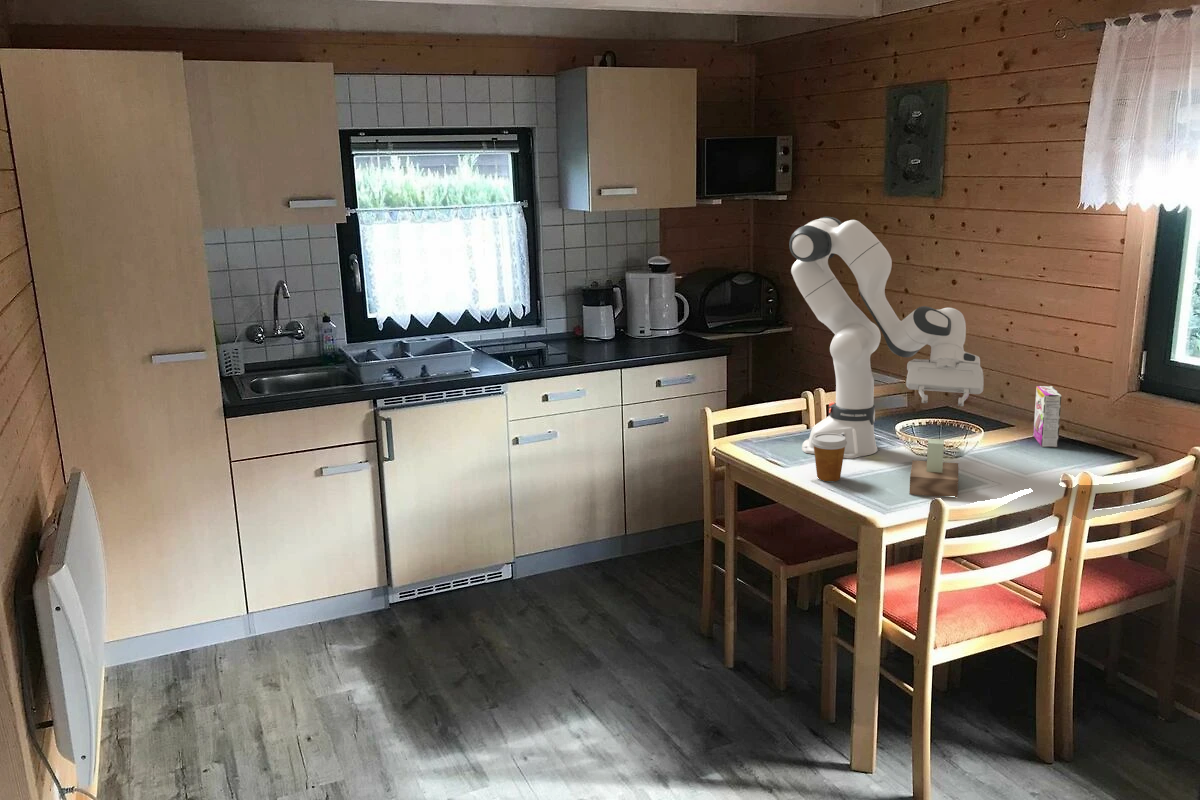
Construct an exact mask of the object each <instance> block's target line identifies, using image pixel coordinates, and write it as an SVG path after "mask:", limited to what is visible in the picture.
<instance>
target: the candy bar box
mask: <svg viewBox="0 0 1200 800" xmlns="http://www.w3.org/2000/svg"><path fill="white" fill-rule="evenodd" d="M1061 405H1062V394H1061V393H1060V392H1059V391H1058V390H1056V389H1055V387H1054V386H1052V385H1050V386H1049V385H1048V386H1047V385H1043V386H1042V385H1039V386H1037V385H1036V388H1035V406H1034V420H1033V433H1032V436H1033V438H1034V439H1035V441H1037V443H1038V444H1039V445H1040V447H1042V448H1058V446H1059V433H1060V422H1061V421H1060V419H1061Z"/></svg>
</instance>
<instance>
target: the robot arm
mask: <svg viewBox="0 0 1200 800" xmlns="http://www.w3.org/2000/svg"><path fill="white" fill-rule="evenodd" d="M788 243H789V244H788V245H789V247H788V248H789V251H790V254H791V255H792V256H793V257H794V258H795V259H796V261H794V263H793V264H792V265H791V269H790V273H791V275H792V278H793V281H794V282H795V285H796V287H797V289H798V291H799V292H800V294H801V295H802V297H803V299H804V301H805V302H806V303H807V305H808V306H809V308H810V309H811V311H812V312H813V314H814V315H815V317H816V319H817V320H818V321H819V322H821V323H822V324H824V326H826V327H827V328H828V329H829V330H830V331H831V332H832V333H833V334H834V336H833V337H832V340H831V342H830V346H829V352H830V353H829V354H830V355H831V357H832V362H833V368H834V374H835V385H836V386H835V402H834V401H830V403H829V405H828V416H827V417H824V418H823V419H822V420H820V421H819V422H817V423H816V424H815V425H814V426H813V427H812V428H811V431H810V434H809V438H807V439H804V441H803V442H802V445H801V450H802V452H803V453H806V454H811V455H815V453H814V446H813V443H812V440H813V438H814V436H815V435H817V434H822V433H834V434H840V435H843V436H844V437H845V439H846V441H847V444H846V446H845V451H844V457H843V459H857V458H859V457H864V456H871V455H873V454H875V453H877V452H878V446H877V443H876V438H875V437H876V436H875V425H874V424H875V420H876V419H875V418H876V408H875V404H874V394H875V391H874V389H875V385H874V384H875V379H874V377H873V374H872V373H873V372H872V367H871V366H872V365H871V356H872V354H873V353H874V352H876V351H877V349H878V348H879V345H880V343H881V339H882V338H881V337H882V335H881V334H883V338H884V340H885V344H886V345H887V347H888V349H889V350H890V351H891V353H893V354H894V355H897V356H899V357H902V358H911V357H913V356H914V355H916V354H917V353H918V352H919V351H920V350H922V348H924V347H925V346H926V345H928V346H930V348H931V349H930V355H929V357H930V358H929V359H928V358H927V359H920V358H913V359H912V360H909V361H908V362H907V364H906V371H907V374H906V381H905V386H906V387H907V389H908V390H914V391H915V390H917V391H918V394H919V396H920V397H921V403H922V404H928V398H929V397H928V396H929V395H928V394H925V391H927V392H928V391H929V392H930V391H931V392H944V393H955V394H956V393H960V394H963V395H962V396H961V397H958V401H957V406H958V407H959V406H960V407H964V404H965V401H966V400H967V399H968V398H969V396H970V395H971V394H972V395H973V394H974V395H980V394H981V393H983V391H984V383H985V382H984V370H983V368H982V366H981V358H980V356H978V355H976V354H974V353H970V352H967V351H965V350H964V349H965V348H964V345H965V343H966V338H967V337H966V336H967V328H966V327H967V323H966V319H965V316H964V314H963V312H961V311H960V310H958V309H956V308H954V307H944V308H941V309H935V308H933V307H930V306H928V305H927V306H926V305H923V306H919V307H917V308H916V309H914V310H912V312H910V313H909V314H908V315H907V316H906V317H904V318H903V319H902V320H900V318H899V317H898V316H897V314H896V313H895V311H894V309H893V307H892V305H890V303H889V301H888V299H887V297H886V293H885V291H886V290H885V289H886V285H887V281H888V279H889V276H890V274H891V271H892V263H893V261H892V257H891V255H890V253H889V251H888V250H887V248H886V247H885V246H884V245H883V243H882V242H881V241H880V240H879V239H878V238H877V236H876V235H875V234H874V233H873V232H872V231H871V230H870V229H868V228H867V226H865V225H864V224H863V223H861V221H859V220H856V219H850V220H846V221H844V222H842V221H841V220H839V219H838V218H836V217H833V216H832V217H831V216H823V217H820V218H818V219H814V220H811V221H809V222H807V223H806V224H804V225H802V226H800V227H798V228H797V229H795V230H794V232H793V233H792V234H791V236H790V238H789V242H788ZM835 255H837V256H838V257H840V258H841V259H842V261H844V263H845V264H846V265H847V267H848V268H849V269H850V271H851V272H852V274H853V276H854V278H855V279H856V283H857V286H858V287H857V288H858V292H859V295H860V297H861V299H862V301H863V302H864V305H865V307H866V308H867V310H868V311H869V313H870V314H871V317H873V319H874V321H875V322H876V323H875V322H873V321H871V320H870V319H869V318H868V317H867V315H866V313H864V312H863V311H862V310H861V309H860V308H859V306H857V305H856V304H855V302H853V300H852V299H851V298H850V296H849V295H848V293H847V292H846V290H845V289H844V288H843V286H842V284H841V283H840V281H839V280H838V279H837V278H836V276H835V274H834V273H833V271H832V270H831V268H830V265H829V259H832V258H833V257H834V256H835Z"/></svg>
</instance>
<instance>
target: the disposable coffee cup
mask: <svg viewBox="0 0 1200 800" xmlns="http://www.w3.org/2000/svg"><path fill="white" fill-rule="evenodd" d="M812 443H813V446H814V453H815V454H814V459H815V460H814V461H815V468H816V470H815V471H816V476H817V477H818V478H819V479H821V480H824V481H823V482H825V481H834V482H838V481H840V480H841V476H842V468H843V462H844V458H843V457H844V451H845V446H846V444H847V441H846V439H845V437H844V436H843V435H840V434H834V433H822V434H817V435H815V436H814V438H813V440H812ZM817 477H816V478H817ZM818 478H817V479H818ZM819 479H818V480H819ZM821 480H820V481H821Z"/></svg>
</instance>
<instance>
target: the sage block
mask: <svg viewBox="0 0 1200 800" xmlns="http://www.w3.org/2000/svg"><path fill="white" fill-rule="evenodd" d="M944 443H945V439H937V438H936V439H935V438H928V439H927V454H926V461H927V471H926V472H939V473H942V469H943V462H944V446H945V445H944Z"/></svg>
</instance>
